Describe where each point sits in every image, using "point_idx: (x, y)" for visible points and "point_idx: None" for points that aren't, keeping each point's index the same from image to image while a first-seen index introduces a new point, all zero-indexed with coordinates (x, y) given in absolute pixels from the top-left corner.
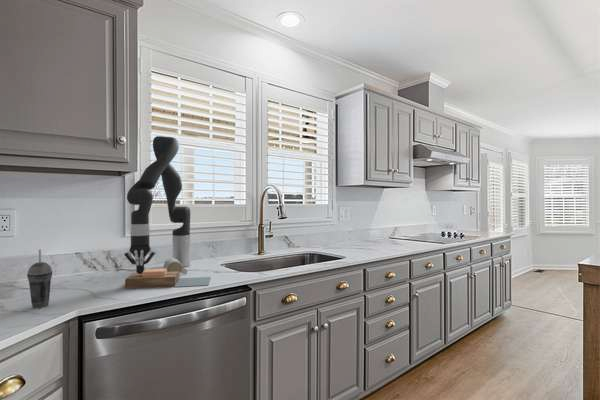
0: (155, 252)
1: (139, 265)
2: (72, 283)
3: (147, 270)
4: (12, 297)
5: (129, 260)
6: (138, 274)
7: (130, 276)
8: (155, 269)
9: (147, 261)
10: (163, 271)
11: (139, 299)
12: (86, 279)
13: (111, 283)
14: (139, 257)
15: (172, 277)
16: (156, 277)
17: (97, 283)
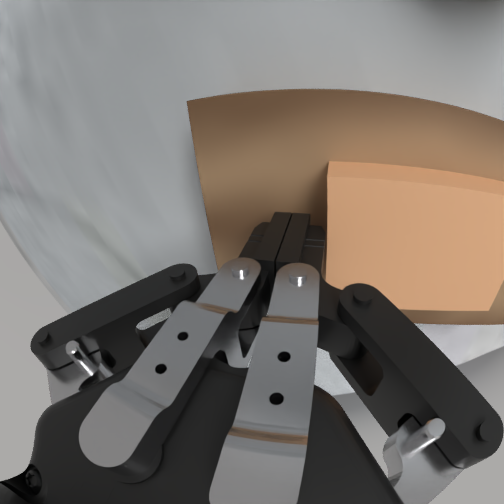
0: (497, 439)
1: (270, 296)
2: (16, 134)
3: (362, 243)
4: (30, 262)
5: (147, 340)
6: (263, 172)
7: (224, 237)
8: (441, 214)
9: (367, 363)
10: (482, 309)
11: (345, 393)
12: (17, 71)
13: (114, 129)
14: (220, 350)
15: (498, 322)
16: (424, 317)
17: (66, 130)
